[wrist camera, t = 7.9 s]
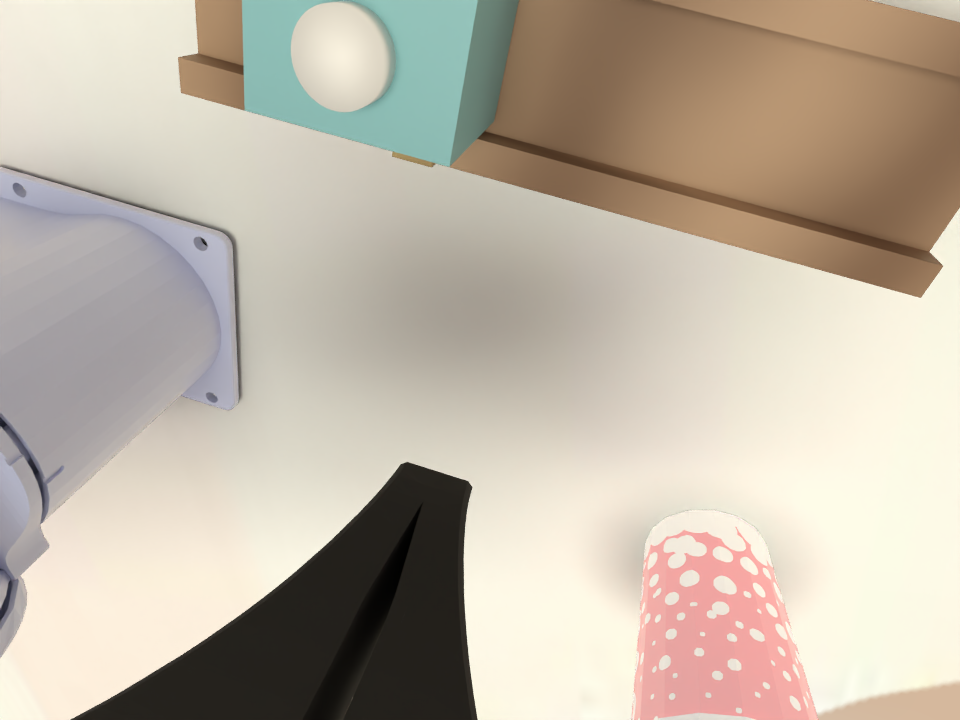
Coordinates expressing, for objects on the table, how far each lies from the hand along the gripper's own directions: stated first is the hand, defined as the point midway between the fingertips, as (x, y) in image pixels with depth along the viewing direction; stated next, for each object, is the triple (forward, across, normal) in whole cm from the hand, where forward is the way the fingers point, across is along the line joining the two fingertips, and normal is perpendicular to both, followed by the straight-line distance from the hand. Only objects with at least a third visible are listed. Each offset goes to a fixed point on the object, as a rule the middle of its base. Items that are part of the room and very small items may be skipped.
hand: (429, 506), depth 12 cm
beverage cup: (+10, -10, +9) cm, 17 cm away
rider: (+7, +3, -7) cm, 10 cm away
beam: (+10, 0, -7) cm, 12 cm away
